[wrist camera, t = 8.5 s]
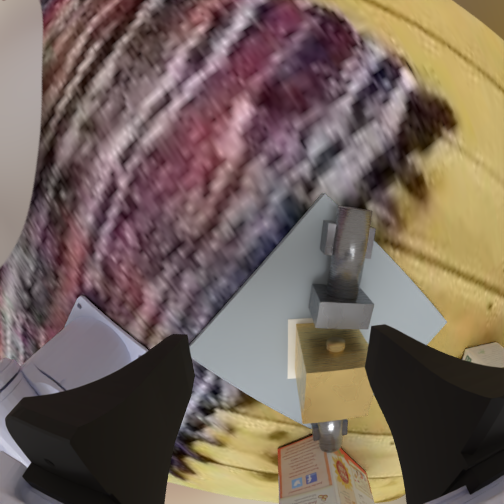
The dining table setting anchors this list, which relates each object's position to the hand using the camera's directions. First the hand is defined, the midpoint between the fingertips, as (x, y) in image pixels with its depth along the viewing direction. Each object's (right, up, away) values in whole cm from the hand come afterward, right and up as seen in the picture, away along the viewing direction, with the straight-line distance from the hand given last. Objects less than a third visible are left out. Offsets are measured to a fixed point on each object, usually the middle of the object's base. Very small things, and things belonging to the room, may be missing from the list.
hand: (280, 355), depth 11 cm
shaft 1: (+5, +3, +9) cm, 11 cm away
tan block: (+4, -3, +10) cm, 12 cm away
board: (+5, -3, +11) cm, 13 cm away
